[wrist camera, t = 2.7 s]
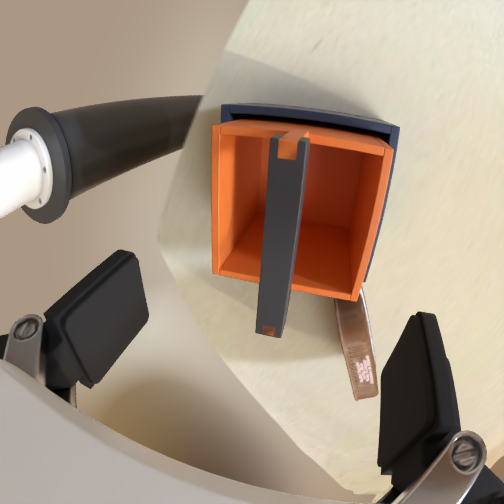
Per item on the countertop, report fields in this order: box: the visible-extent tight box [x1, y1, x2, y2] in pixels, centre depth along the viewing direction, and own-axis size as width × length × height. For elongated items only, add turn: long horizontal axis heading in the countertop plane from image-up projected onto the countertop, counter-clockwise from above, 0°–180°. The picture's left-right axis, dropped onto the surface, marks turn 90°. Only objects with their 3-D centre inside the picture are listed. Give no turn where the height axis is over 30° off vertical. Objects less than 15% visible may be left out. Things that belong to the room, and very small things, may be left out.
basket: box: [211, 115, 394, 338], centre depth 19 cm, size 10×10×15 cm
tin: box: [334, 286, 378, 401], centre depth 28 cm, size 15×3×8 cm, turn 22°
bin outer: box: [221, 103, 400, 282], centre depth 23 cm, size 12×12×7 cm
